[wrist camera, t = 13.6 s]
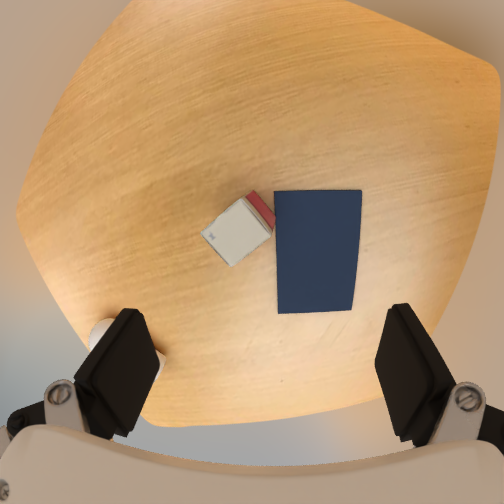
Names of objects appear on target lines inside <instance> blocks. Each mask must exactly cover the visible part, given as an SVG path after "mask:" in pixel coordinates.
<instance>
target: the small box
mask: <svg viewBox="0 0 504 504" xmlns="http://www.w3.org/2000/svg"><path fill="white" fill-rule="evenodd" d="M275 220H276V217H275V215H274V214H273V213H272V211H271V210H270V209H269V208H268V206H267V205H266V204H265V203H264V202H263V200H262V199H261V198H260V197H259V196H258V195H257V194H256V192H255V191H254V190H251V191H249V192H248V193H247V194H245V195H244V196H242V197H241V198H240V199H238V200H237V201H236V202H235V203H233V204H232V205H231V206H230V207H229V208H227V209H226V210H225V211H224V212H223V213H222V214H220V215H219V216H218V217H217V218H216V219H215V220H214V221H213V222H211V223H210V224H209V225H208V226H207V227H206V228H205V229H204V230H203V231H201V233H200V234H201V236H202V237H203V238H204V239H205V240H206V241H207V242H208V244H209V245H210V246H211V247H212V248H213V249H214V250H215V252H216V253H217V254H218V255H219V256H220V257H221V258H222V259H223V260H224V261H225V262H226V263H227V264H228V265H229V266H230V267H232V266H234V265H235V264H237V263H238V262H239V261H241V260H242V259H243V258H245V257H246V256H247V255H249V254H250V253H251V252H253V251H254V250H255V249H256V248H258V247H259V246H260V245H261V244H263V243H264V242H265V241H266V240H267V239H268V238H270V237H271V236H272V231H273V228H274V224H275Z"/></svg>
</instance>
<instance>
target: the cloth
mask: <svg viewBox="0 0 504 504" xmlns="http://www.w3.org/2000/svg"><path fill="white" fill-rule="evenodd" d="M274 199H275V217H276V220H275V223H276V251H277V287H278V314H286V313H311V312H330V311H345V310H351V309H352V302H353V295H354V288H355V280H356V271H357V261H358V251H359V239H360V225H361V206H362V191H361V190H299V191H274Z"/></svg>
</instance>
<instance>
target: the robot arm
mask: <svg viewBox="0 0 504 504" xmlns="http://www.w3.org/2000/svg"><path fill="white" fill-rule="evenodd" d="M159 368H160V361H159V358H158V355H157V353H156V350H155V348H154V345H153V342H152V339H151V336H150V334H149V331H148V328H147V325H146V322H145V319H144V316H143V314H142V313H140V312H139V310H138V309H130V308H124V309H123V310H122V311H121V312H120V313H119V315H118V316H117V317H116V319H115V320H114V321H113V322H112V324H111V325H110V326H109V328H108V329H107V330H106V332H105V333H104V334H103V336H102V337H101V339H100V340H99V341H98V343H97V344H96V345H95V347H94V348H93V350H92V351H91V352H90V354H89V355H88V357H87V358H86V360H85V361H84V362H83V364H82V365H81V367H80V368H79V369H78V371H77V372H76V374H75V375H74V379H75V382H74V383H72V382H71V381H69V380H64V379H62V380H57V381H55V382H53V383H52V384H51V385H50V386H49V387H48V388H47V389H46V391H45V393H44V400H43V401H41V402H38V403H35V404H33V405H30V406H27V407H25V408H21V409H19V410H16V411H15V412H13V413H12V414H11V415H10V417H9V418H8V421H7V427H6V426H5V425H3V426H2V427H0V504H504V411H502V410H499V409H497V408H494V407H491V406H489V405H487V404H486V397H485V393H484V392H483V390H482V389H481V388H480V387H479V386H478V385H476V384H474V383H471V382H461V383H459V384H456V382H455V380H454V378H453V377H452V375H451V373H450V371H449V369H448V367H447V366H446V364H445V362H444V360H443V358H442V357H441V355H440V353H439V351H438V350H437V348H436V346H435V345H434V343H433V341H432V340H431V338H430V337H429V335H428V333H427V332H426V330H425V329H424V327H423V325H422V324H421V322H420V321H419V319H418V317H417V316H416V314H415V313H414V311H413V310H412V308H411V307H410V305H409V304H408V303H402V304H394V305H393V306H392V308H390V309H388V312H387V316H386V320H385V324H384V328H383V332H382V336H381V340H380V344H379V347H378V351H377V354H376V358H375V369H376V372H377V375H378V378H379V382H380V385H381V388H382V391H383V394H384V397H385V401H386V404H387V408H388V411H389V415H390V418H391V422H392V425H393V429H394V432H395V435H396V436H399V437H400V440H401V442H405V441H409V440H412V442H413V445H414V447H413V449H409V450H405V451H402V452H397V453H392V454H388V455H383V456H378V457H372V458H366V459H360V460H353V461H346V462H339V463H329V464H319V465H303V466H246V465H231V464H221V463H212V462H204V461H196V460H190V459H184V458H178V457H173V456H167V455H163V454H158V453H154V452H149V451H145V450H141V449H137V448H134V447H130V446H126V445H123V444H119V443H116V442H114V441H113V438H112V437H113V435H114V433H115V434H117V435H120V436H123V437H127V435H128V433H129V432H130V431H132V430H133V429H134V426H135V424H136V421H137V419H138V417H139V415H140V412H141V410H142V407H143V405H144V403H145V401H146V398H147V396H148V394H149V391H150V389H151V387H152V385H153V382H154V380H155V378H156V375H157V373H158V371H159Z"/></svg>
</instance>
